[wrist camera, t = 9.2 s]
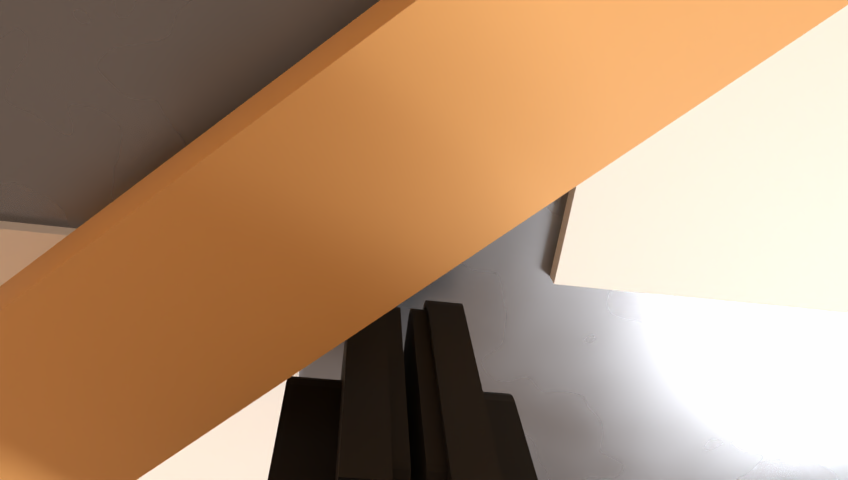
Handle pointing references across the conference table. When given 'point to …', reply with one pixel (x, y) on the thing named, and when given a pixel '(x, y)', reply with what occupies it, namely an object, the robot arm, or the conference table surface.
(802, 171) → the label
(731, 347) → the server box
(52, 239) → the label
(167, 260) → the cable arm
